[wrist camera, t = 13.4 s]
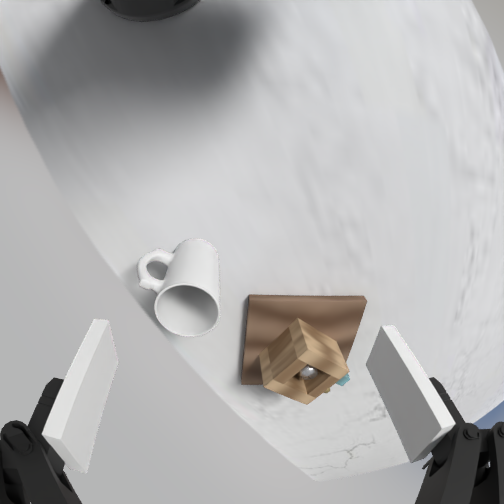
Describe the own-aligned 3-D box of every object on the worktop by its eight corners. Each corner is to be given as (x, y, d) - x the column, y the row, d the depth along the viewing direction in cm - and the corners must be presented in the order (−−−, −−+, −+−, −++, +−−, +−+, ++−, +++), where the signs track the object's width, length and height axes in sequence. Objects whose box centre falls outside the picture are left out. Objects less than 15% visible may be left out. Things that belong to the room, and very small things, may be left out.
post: (295, 341, 47) (302, 368, 41) (310, 341, 47) (319, 368, 42) (292, 353, 48) (299, 380, 42) (307, 352, 48) (315, 379, 43)
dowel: (319, 374, 51) (324, 388, 48) (326, 374, 51) (331, 388, 48) (318, 379, 51) (322, 393, 48) (324, 378, 51) (329, 392, 48)
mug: (230, 250, 41) (232, 302, 30) (207, 288, 43) (202, 345, 32) (162, 215, 38) (139, 256, 27) (142, 256, 40) (117, 307, 30)
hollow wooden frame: (259, 354, 47) (263, 387, 41) (297, 317, 45) (308, 349, 38) (323, 385, 52) (332, 414, 46) (359, 355, 50) (373, 383, 43)
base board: (249, 294, 44) (249, 300, 43) (363, 295, 46) (367, 301, 45) (241, 378, 52) (241, 384, 50) (336, 374, 54) (338, 380, 52)
